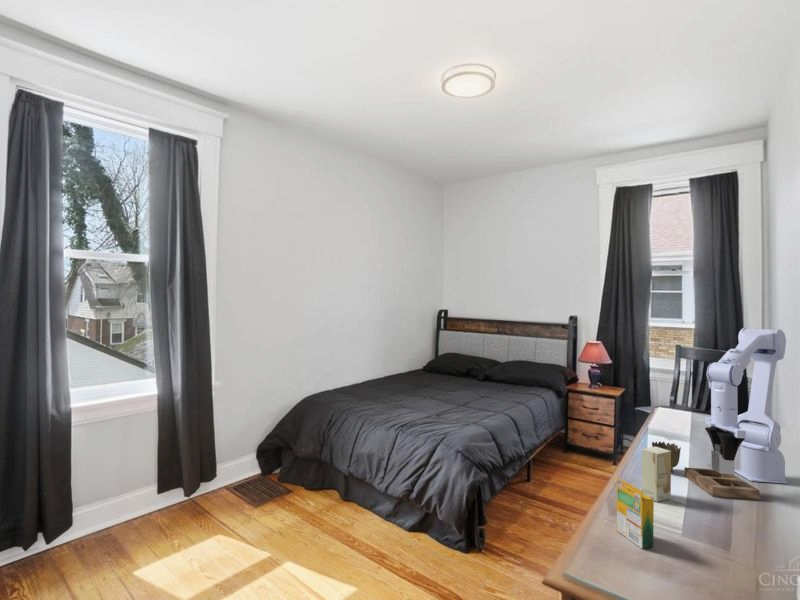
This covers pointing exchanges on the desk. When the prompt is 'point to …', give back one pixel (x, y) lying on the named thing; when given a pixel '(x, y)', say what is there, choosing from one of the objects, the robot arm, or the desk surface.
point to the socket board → (721, 484)
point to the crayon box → (635, 514)
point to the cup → (674, 452)
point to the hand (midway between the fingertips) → (724, 457)
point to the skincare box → (656, 473)
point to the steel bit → (721, 461)
